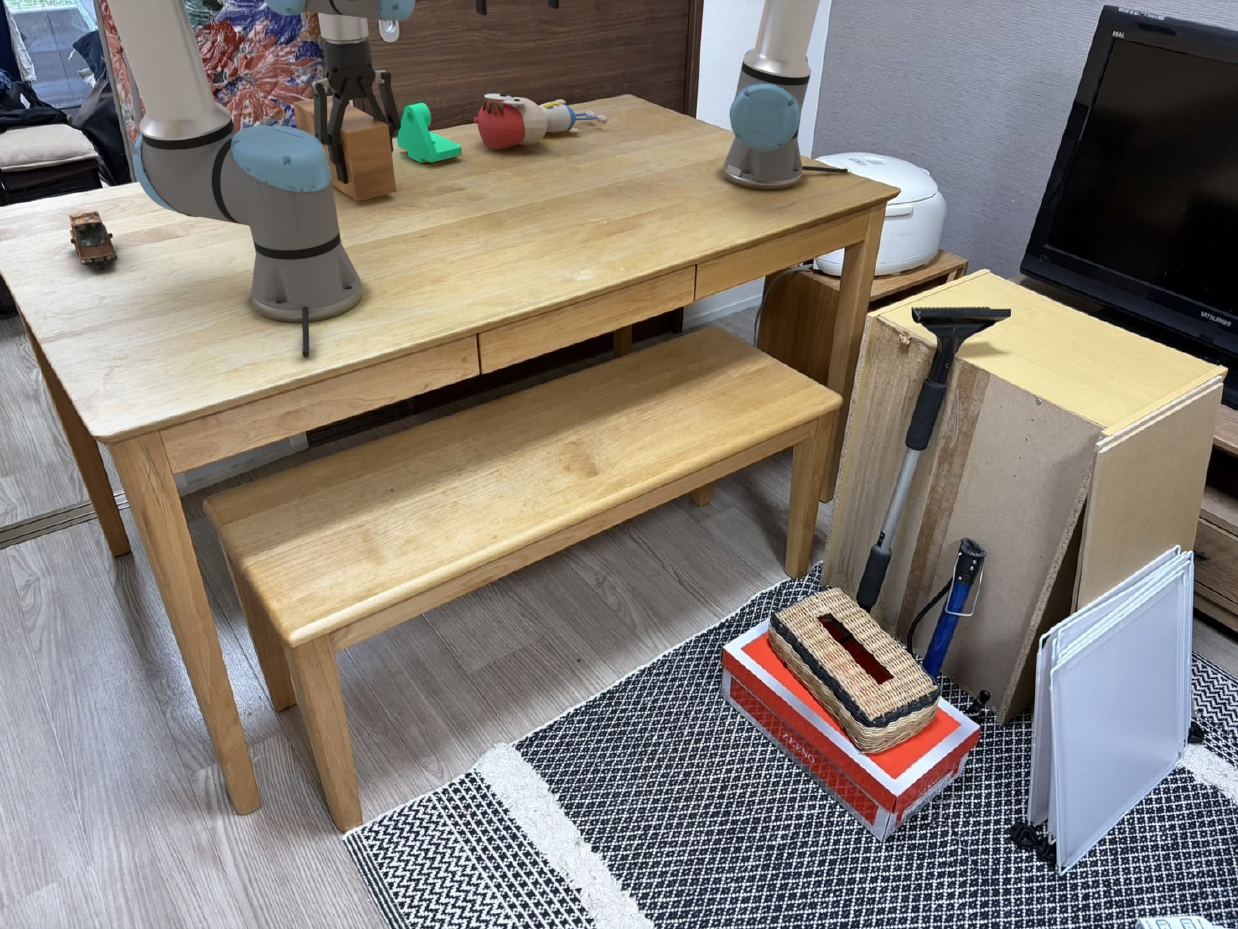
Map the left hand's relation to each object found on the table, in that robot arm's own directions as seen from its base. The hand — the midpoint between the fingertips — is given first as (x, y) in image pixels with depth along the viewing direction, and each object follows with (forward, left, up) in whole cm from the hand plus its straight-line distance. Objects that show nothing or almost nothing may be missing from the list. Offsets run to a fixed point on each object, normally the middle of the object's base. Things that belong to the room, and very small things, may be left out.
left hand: (365, 176), depth 165 cm
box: (+7, +1, -3) cm, 8 cm away
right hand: (-4, -29, +26) cm, 39 cm away
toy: (+16, -43, -4) cm, 46 cm away
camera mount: (+15, -18, -4) cm, 24 cm away
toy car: (-7, +45, -4) cm, 46 cm away
